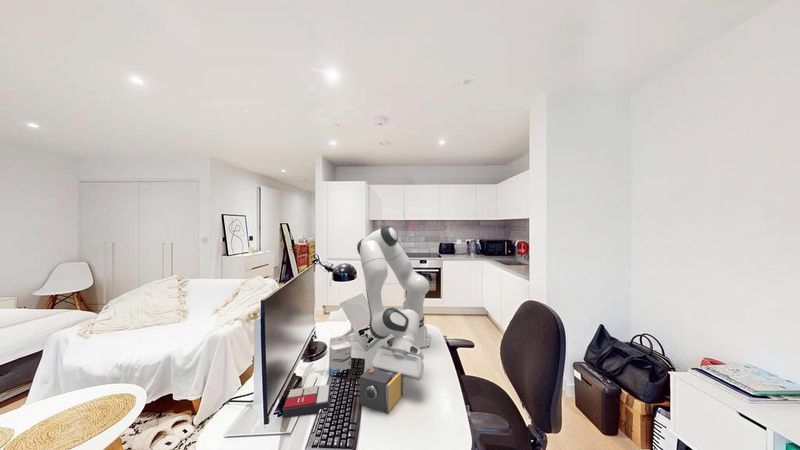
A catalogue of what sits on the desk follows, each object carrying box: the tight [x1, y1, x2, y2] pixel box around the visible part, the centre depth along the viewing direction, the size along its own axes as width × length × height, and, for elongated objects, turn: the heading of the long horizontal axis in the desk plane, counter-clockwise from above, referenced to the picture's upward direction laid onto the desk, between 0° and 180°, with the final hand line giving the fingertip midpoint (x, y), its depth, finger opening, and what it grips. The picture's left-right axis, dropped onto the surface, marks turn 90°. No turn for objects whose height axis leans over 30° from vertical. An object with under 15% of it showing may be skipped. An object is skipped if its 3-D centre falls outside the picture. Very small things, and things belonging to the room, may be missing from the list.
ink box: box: [328, 334, 352, 374], centre depth 117 cm, size 8×5×15 cm, turn 123°
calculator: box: [282, 384, 332, 419], centre depth 95 cm, size 11×4×15 cm
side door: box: [384, 372, 404, 414], centre depth 95 cm, size 11×2×9 cm, turn 152°
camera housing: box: [359, 368, 393, 413], centre depth 95 cm, size 7×10×11 cm
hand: (391, 387), depth 98 cm, fingers closed
